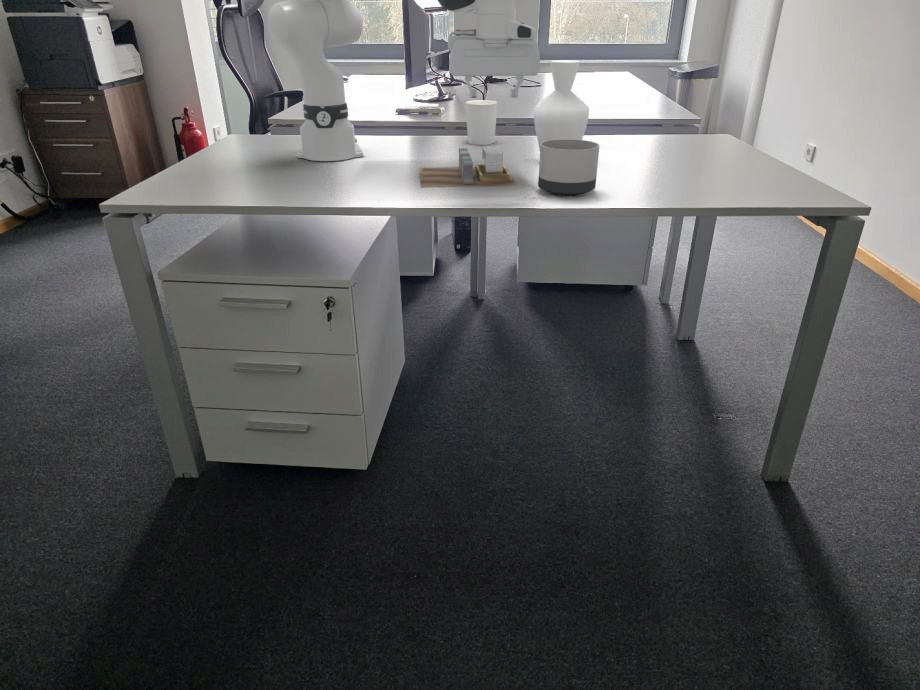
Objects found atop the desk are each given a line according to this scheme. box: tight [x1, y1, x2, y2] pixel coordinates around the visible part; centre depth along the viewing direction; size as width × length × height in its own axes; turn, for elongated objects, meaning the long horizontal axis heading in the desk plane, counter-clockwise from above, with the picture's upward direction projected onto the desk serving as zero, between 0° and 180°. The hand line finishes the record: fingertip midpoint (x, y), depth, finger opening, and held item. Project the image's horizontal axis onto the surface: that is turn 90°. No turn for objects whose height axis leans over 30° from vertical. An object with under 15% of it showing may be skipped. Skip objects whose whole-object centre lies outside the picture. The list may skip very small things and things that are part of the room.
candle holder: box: [465, 99, 499, 146], centre depth 190 cm, size 10×10×12 cm
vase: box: [533, 59, 590, 151], centre depth 162 cm, size 14×14×25 cm
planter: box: [537, 139, 600, 198], centre depth 137 cm, size 13×13×10 cm
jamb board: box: [419, 147, 518, 188], centre depth 147 cm, size 20×22×6 cm
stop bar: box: [481, 146, 504, 174], centre depth 147 cm, size 4×8×6 cm, turn 4°
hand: (493, 97), depth 140 cm, fingers open, 8 cm apart
